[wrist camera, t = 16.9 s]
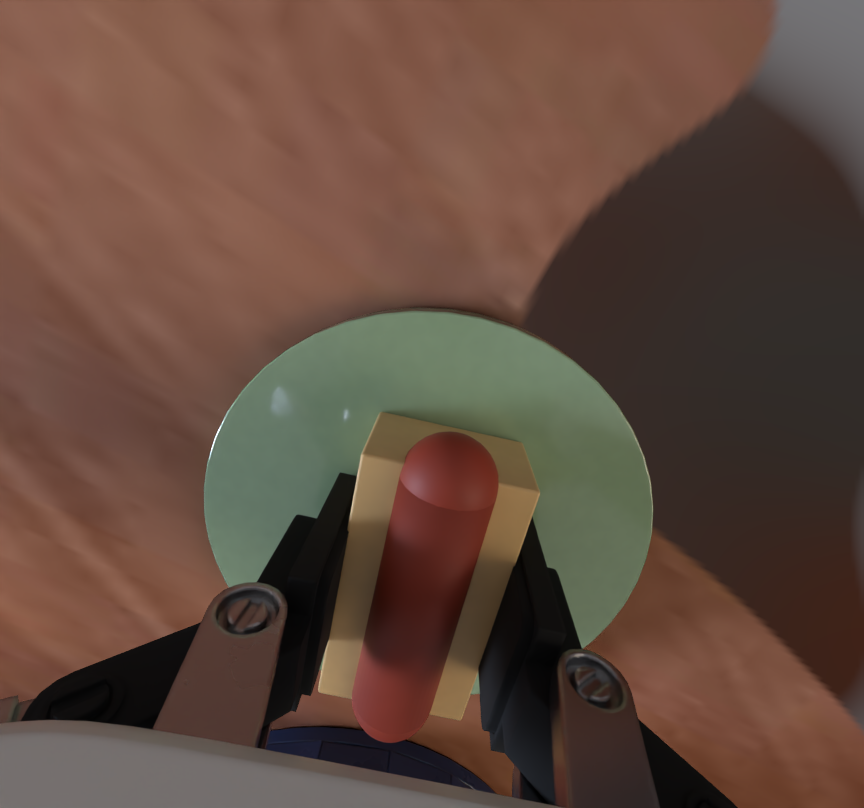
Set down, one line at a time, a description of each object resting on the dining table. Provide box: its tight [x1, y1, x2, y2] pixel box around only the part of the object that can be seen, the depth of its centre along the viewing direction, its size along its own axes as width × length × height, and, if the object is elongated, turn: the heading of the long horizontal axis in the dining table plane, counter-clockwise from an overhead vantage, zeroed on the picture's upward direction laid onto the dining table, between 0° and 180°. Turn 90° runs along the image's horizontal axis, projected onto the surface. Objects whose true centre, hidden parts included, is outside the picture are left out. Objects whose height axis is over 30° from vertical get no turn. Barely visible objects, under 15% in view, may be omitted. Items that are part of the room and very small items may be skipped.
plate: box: [204, 307, 653, 695], centre depth 12 cm, size 12×12×1 cm
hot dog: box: [318, 412, 540, 743], centre depth 11 cm, size 8×4×3 cm, turn 168°
